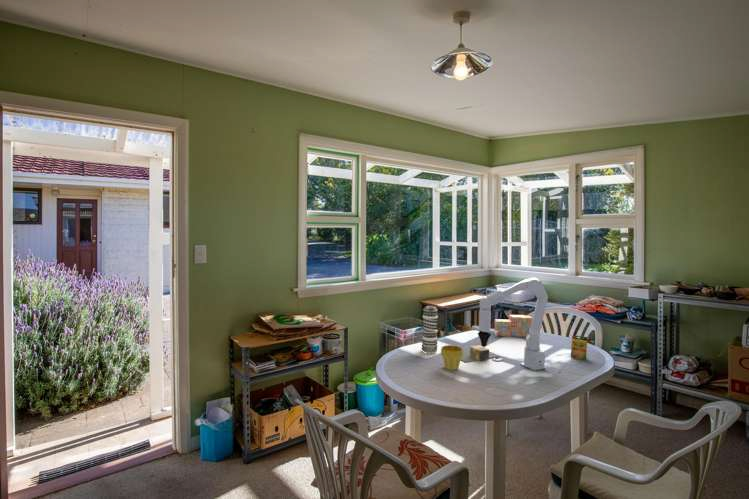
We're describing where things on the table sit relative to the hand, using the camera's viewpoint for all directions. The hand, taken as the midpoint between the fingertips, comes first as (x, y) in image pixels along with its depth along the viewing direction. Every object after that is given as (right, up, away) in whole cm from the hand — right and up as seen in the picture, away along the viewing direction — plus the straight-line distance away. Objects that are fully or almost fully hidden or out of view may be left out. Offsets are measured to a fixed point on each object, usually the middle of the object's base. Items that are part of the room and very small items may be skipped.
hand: (484, 346), depth 216 cm
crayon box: (+51, -8, +5) cm, 52 cm away
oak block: (0, -5, 0) cm, 5 cm away
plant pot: (-19, -8, -10) cm, 23 cm away
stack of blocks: (+30, -4, +46) cm, 55 cm away
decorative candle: (-26, -6, +13) cm, 30 cm away
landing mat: (-4, -7, +9) cm, 12 cm away
